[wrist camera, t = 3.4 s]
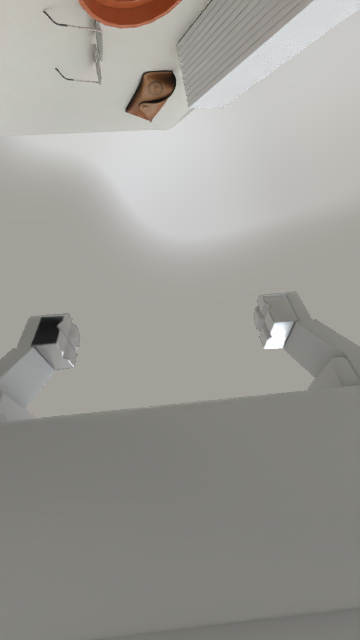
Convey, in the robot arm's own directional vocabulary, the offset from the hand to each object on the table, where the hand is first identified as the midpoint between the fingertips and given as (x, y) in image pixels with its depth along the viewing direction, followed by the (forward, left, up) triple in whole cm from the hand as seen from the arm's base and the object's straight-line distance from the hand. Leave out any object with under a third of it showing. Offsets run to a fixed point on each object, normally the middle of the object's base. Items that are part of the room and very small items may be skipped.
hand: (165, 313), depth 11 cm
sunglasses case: (+18, +71, -37) cm, 82 cm away
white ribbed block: (-9, +53, -37) cm, 65 cm away
